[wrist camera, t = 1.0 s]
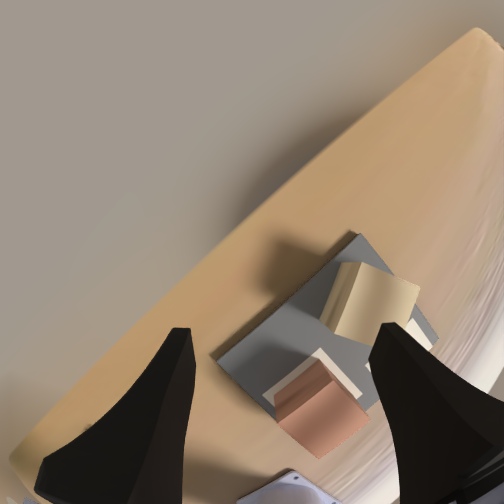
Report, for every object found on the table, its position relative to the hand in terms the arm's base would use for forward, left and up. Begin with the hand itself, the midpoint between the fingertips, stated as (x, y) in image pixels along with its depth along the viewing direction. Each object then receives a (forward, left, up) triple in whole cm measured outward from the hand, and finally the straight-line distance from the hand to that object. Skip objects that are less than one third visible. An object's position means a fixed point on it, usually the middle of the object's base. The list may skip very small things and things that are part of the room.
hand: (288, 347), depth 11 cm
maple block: (-5, -5, -13) cm, 15 cm away
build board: (-7, -1, -14) cm, 16 cm away
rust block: (-9, +3, -13) cm, 16 cm away
